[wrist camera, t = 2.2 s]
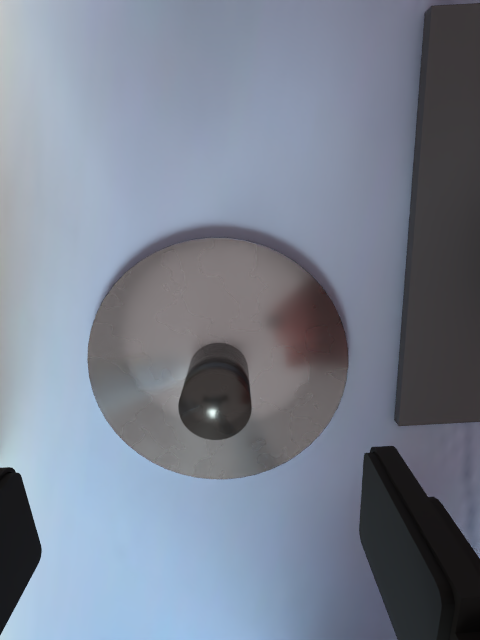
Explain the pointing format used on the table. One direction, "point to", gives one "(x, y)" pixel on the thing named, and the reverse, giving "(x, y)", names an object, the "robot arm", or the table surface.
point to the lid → (217, 358)
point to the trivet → (444, 230)
